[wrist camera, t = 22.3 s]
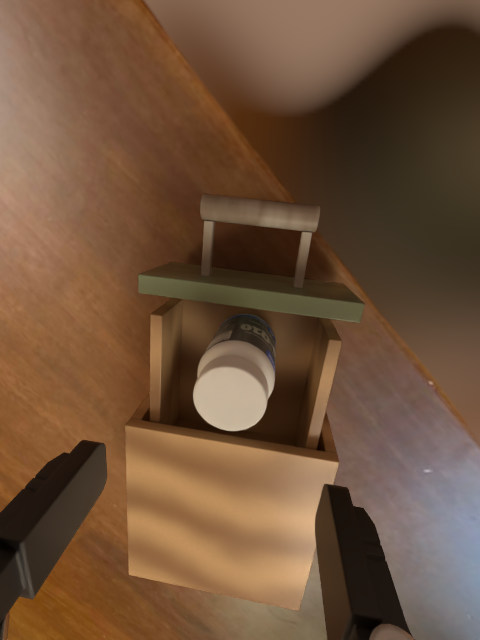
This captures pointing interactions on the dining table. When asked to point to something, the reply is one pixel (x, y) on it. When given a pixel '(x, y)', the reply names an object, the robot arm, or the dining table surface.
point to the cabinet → (223, 509)
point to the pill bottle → (236, 373)
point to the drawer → (258, 299)
